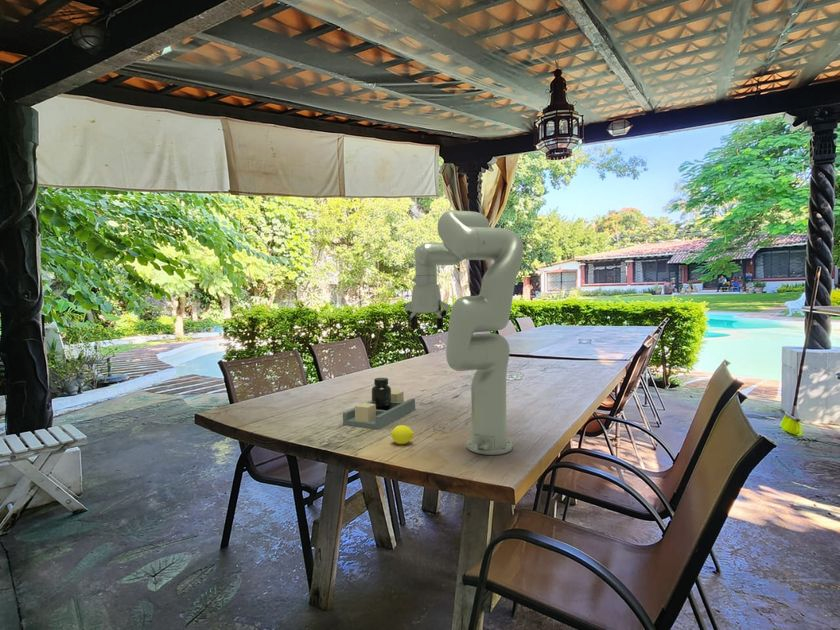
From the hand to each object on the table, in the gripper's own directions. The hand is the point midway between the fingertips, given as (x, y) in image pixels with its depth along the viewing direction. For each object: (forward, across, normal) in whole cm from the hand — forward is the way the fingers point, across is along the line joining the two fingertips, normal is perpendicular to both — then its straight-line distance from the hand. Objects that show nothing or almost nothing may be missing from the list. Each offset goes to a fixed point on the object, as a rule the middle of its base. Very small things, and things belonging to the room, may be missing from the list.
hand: (427, 329), depth 158 cm
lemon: (+31, +6, -32) cm, 45 cm away
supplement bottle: (+29, -14, -10) cm, 34 cm away
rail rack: (+30, -14, -10) cm, 35 cm away
